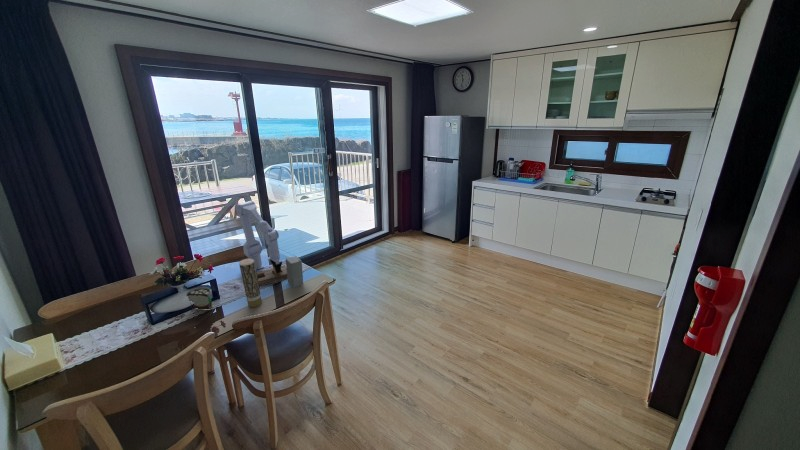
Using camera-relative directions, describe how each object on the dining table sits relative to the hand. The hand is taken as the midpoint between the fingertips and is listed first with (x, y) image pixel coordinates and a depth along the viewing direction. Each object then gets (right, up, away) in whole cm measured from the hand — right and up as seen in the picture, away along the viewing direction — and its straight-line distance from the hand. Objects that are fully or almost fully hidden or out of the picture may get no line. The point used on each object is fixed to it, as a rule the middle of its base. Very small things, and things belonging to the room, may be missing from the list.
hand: (276, 270), depth 188 cm
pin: (0, -3, +1) cm, 4 cm away
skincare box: (+14, -7, -7) cm, 17 cm away
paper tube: (-1, -14, -26) cm, 30 cm away
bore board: (-4, -5, -1) cm, 6 cm away
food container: (-26, -15, -28) cm, 41 cm away
